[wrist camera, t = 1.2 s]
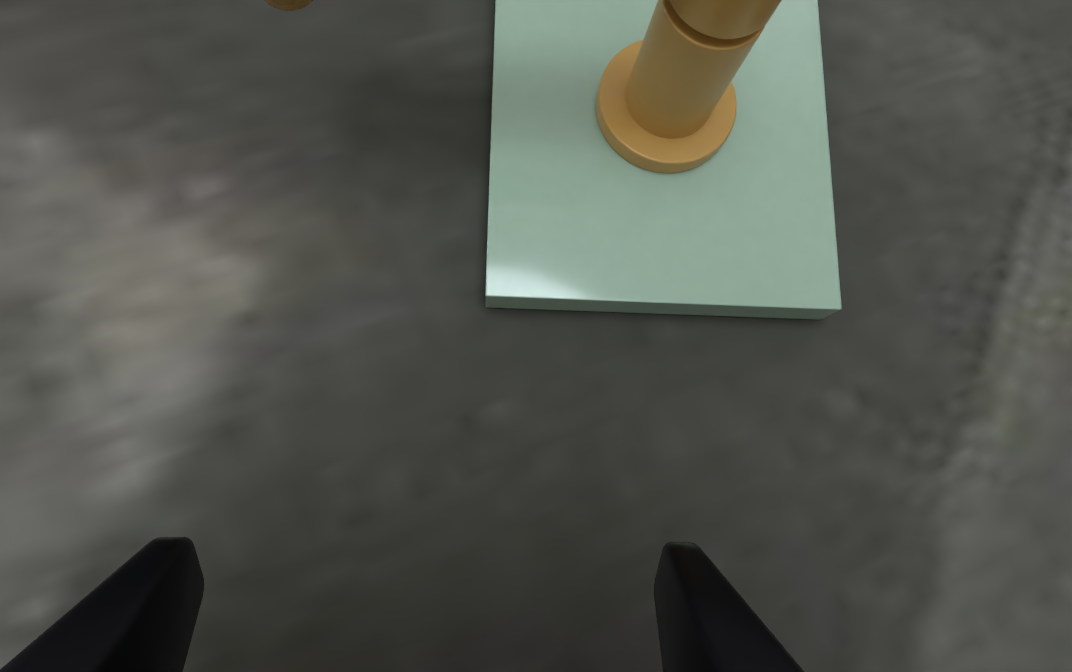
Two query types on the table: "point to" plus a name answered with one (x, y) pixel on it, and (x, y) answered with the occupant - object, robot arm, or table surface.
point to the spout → (680, 14)
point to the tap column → (671, 94)
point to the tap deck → (656, 178)
